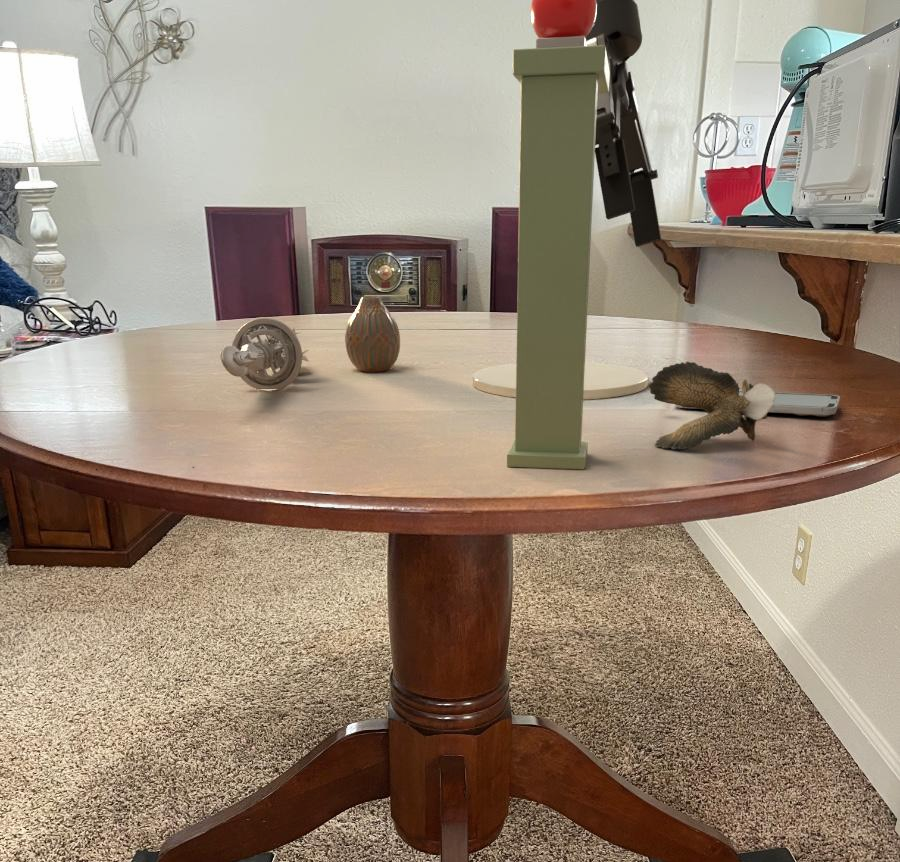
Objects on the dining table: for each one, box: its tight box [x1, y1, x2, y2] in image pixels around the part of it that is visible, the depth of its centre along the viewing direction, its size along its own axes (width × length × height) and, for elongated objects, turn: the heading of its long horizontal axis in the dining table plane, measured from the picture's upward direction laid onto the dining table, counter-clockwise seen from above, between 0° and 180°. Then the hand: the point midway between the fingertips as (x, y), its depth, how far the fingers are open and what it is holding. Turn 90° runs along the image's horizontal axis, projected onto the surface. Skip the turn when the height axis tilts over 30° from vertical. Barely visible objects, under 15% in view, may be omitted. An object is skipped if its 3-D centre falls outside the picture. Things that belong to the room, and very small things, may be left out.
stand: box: [506, 45, 610, 470], centre depth 69 cm, size 12×6×28 cm, turn 169°
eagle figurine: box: [647, 361, 776, 450], centre depth 74 cm, size 8×7×9 cm
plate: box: [472, 361, 650, 401], centre depth 102 cm, size 20×20×1 cm
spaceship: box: [219, 317, 310, 390], centre depth 99 cm, size 8×35×8 cm
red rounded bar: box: [530, 0, 597, 48], centre depth 67 cm, size 20×4×5 cm, turn 169°
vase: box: [344, 295, 401, 373], centre depth 111 cm, size 7×7×9 cm
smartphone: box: [673, 390, 841, 418], centre depth 88 cm, size 7×1×15 cm
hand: (635, 230), depth 91 cm, fingers open, 13 cm apart
